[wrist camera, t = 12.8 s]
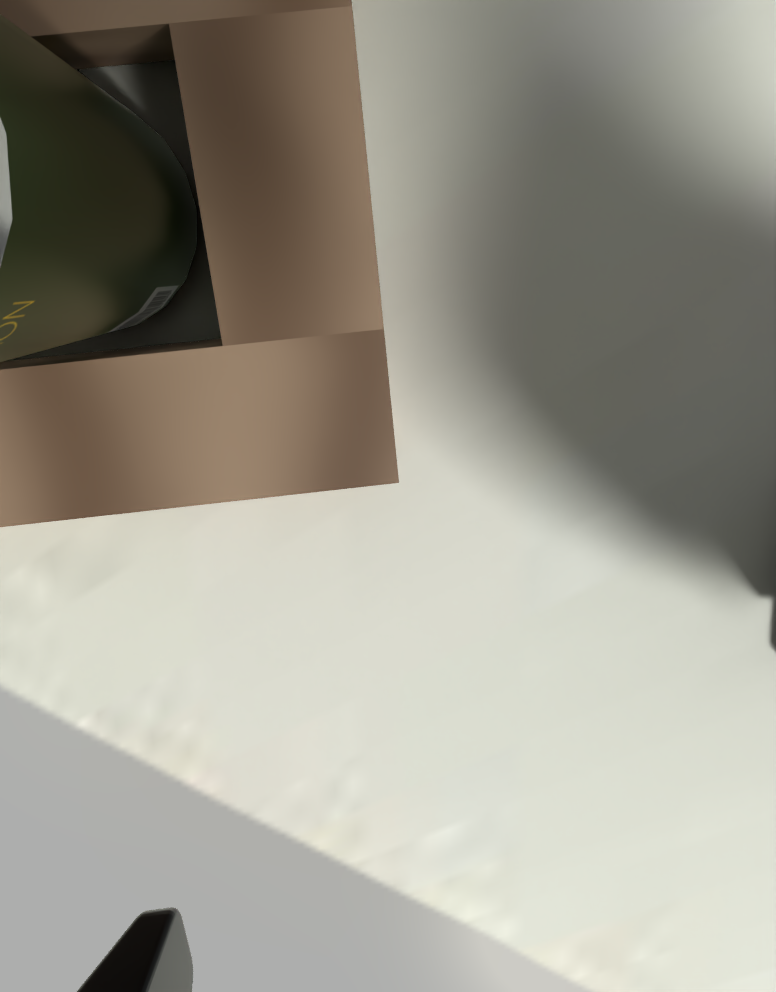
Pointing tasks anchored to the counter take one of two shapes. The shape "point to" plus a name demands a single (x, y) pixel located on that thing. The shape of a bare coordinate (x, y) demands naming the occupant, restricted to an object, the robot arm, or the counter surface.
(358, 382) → the hole board
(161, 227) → the beer can
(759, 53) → the counter surface
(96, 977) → the robot arm
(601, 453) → the counter surface
